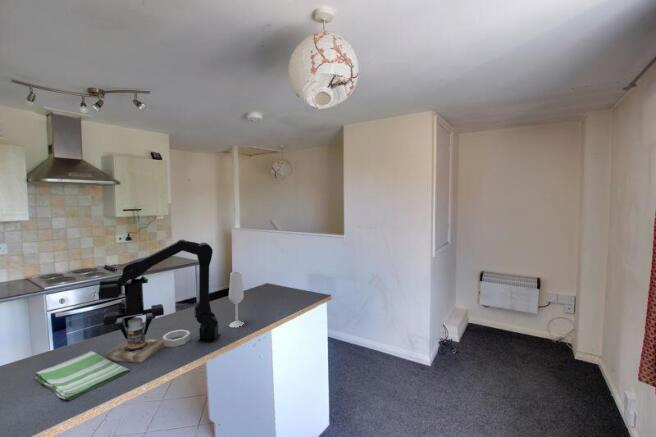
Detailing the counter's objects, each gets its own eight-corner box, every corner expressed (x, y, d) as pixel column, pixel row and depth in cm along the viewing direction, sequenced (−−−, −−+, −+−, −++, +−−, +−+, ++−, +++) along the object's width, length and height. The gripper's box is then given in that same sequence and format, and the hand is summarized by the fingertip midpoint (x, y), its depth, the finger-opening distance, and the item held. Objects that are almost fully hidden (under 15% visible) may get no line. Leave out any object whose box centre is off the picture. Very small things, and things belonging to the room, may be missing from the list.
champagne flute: (241, 320, 146) (240, 270, 144) (246, 325, 141) (245, 273, 139) (227, 323, 142) (226, 272, 141) (231, 328, 137) (230, 275, 135)
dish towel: (65, 404, 88) (65, 395, 87) (31, 380, 99) (30, 372, 99) (130, 373, 103) (130, 365, 103) (94, 355, 114) (94, 348, 114)
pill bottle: (126, 350, 112) (124, 324, 111) (128, 343, 117) (126, 318, 116) (144, 346, 114) (143, 321, 113) (145, 340, 119) (144, 315, 119)
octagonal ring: (194, 336, 129) (194, 330, 129) (180, 347, 120) (180, 341, 120) (173, 334, 131) (173, 329, 130) (158, 345, 121) (157, 339, 121)
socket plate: (164, 346, 121) (163, 340, 120) (141, 362, 109) (141, 356, 109) (131, 343, 123) (131, 337, 122) (106, 359, 111) (105, 353, 111)
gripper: (161, 286, 126) (162, 323, 127) (104, 294, 116) (107, 334, 117) (163, 293, 116) (164, 333, 117) (102, 302, 107) (104, 346, 108)
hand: (136, 336), depth 115 cm, fingers closed on pill bottle, 6 cm apart
